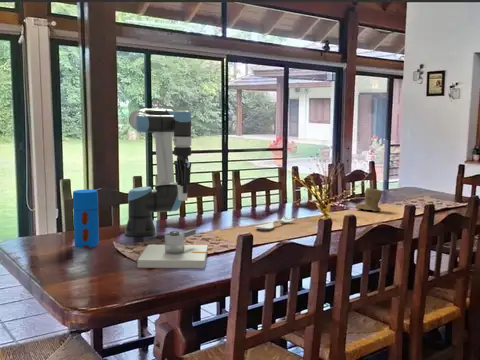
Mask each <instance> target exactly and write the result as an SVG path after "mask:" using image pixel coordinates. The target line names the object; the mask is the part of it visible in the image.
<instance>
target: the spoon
mask: <svg viewBox="0 0 480 360" xmlns="http://www.w3.org/2000/svg"><path fill="white" fill-rule="evenodd" d="M297 218H298V217H296V218H291V217H290V218H289V217H287V216H285V215H283V217H282V218H281V219H275V220H273V221H271V222H269V223H265V224H260V225H255V226H254V227H255V228H256V229H259V230H263V231H269V230H272V229H273V228H274V227H275V223H278V222H280V223H282V224H290V223H292V222H294V221H296V220H297Z"/></svg>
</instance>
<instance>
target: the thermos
mask: <svg viewBox="0 0 480 360" xmlns="http://www.w3.org/2000/svg"><path fill="white" fill-rule="evenodd" d="M72 213H73V214H72V215H73V219H72V220H73V238H74V239H73V240H74V247H75V248H79V249H89V248H94V247H95V248H96V247H97V246H99V242H100V228H99V227H100V223H99V222H100V221H99V220H100V219H99V218H100V217H99V192H98V190H97V189H76V190H73V191H72Z"/></svg>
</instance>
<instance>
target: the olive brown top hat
mask: <svg viewBox="0 0 480 360" xmlns="http://www.w3.org/2000/svg"><path fill="white" fill-rule="evenodd" d="M382 194H383V193H382V190H381V189H378V188H371V187H366V188H365V191H364V197H365V202H364V203H363V204H362V203H359V204H357V205H355V206H354V208H355V209H357V210H361V209H363V210H362V211H366V210H372V211H371V212H379V211H378V210H380V211H381V210H382V209H381V208H380V207H379V202H380V201H381V198H382Z"/></svg>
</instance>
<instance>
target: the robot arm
mask: <svg viewBox="0 0 480 360" xmlns="http://www.w3.org/2000/svg"><path fill="white" fill-rule="evenodd" d="M128 124H129V125H130V126H131V128H133V129H134V130H136V132H138V133H151V135H152V136H153V137H154V142H155V143H154V144H155V157H156V175H157V176H156V177H157V183H156V184H155V185H154V189H153V187H151V186H140V187H135V188H132V189H130V190H129V191H128V195H127V196H128V197H127V201H128V202H127V203H128V207H127V208H128V212H127V213H128V218H127V219H128V220H127V223H126V225H125V226H126V227H125V228H124V234H125V236H129V237H136V238H137V237H149V236H153V235H155V234H156V233H157V232H156V231H157V230H156V225H155V222H154V220H153V213H165V212H166V213H167V212H169V213H170V212H177V211H179V210H180V207H181V205H182V202H185V201H187V202H188V186H189V185H191V170H192V162H189V157H190V156H192V147H191V146H192V113H191V111H190V110H175V111H174V110H173V109H171V108H140V109H137V110H134V111H132V112H131V113H130V114H129V117H128ZM172 137H173V139H172ZM173 146H174V147H173ZM174 156H175V157H176V160H174V158H173V157H174Z"/></svg>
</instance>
